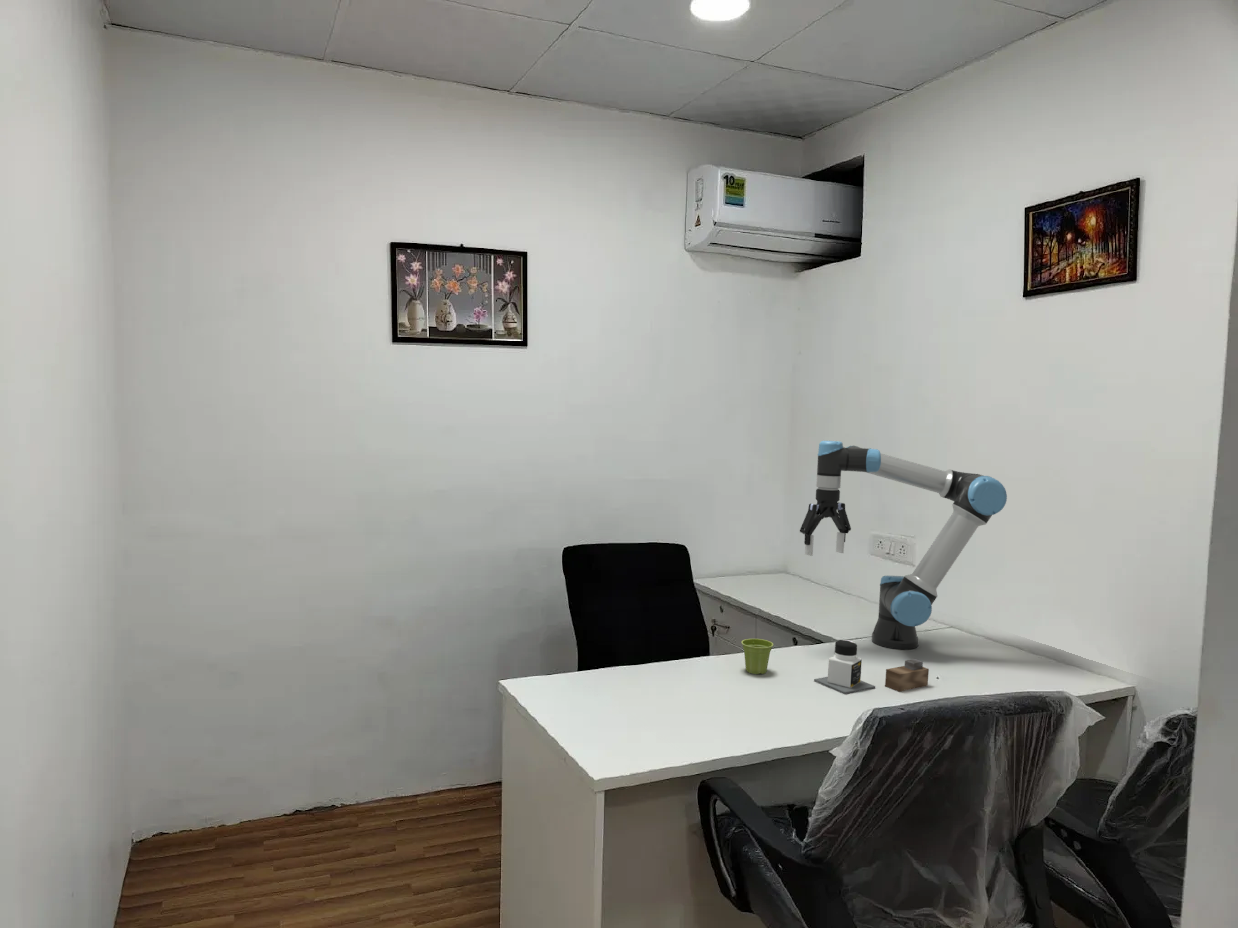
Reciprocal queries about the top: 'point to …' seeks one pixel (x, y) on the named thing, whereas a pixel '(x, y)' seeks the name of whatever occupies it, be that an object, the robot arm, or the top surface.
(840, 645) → the medicine bottle
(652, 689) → the top surface
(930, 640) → the top surface
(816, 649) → the top surface
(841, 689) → the mat
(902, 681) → the plane body block
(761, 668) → the plant pot
